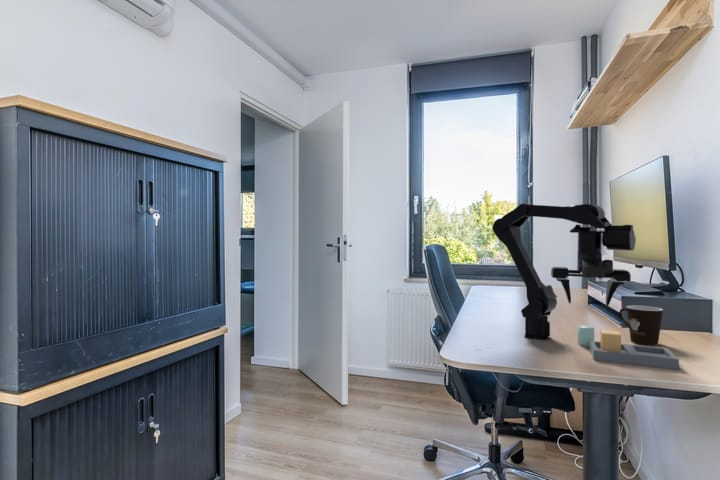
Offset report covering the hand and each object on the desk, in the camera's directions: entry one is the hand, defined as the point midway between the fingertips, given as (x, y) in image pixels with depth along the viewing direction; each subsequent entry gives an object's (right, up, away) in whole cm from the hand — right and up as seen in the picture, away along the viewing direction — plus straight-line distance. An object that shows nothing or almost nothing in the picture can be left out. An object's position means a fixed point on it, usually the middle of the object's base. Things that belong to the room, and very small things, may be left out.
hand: (588, 304), depth 110 cm
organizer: (+4, -12, -11) cm, 17 cm away
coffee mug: (+19, -12, +5) cm, 23 cm away
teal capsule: (0, -12, +2) cm, 12 cm away
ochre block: (0, -11, -10) cm, 14 cm away
